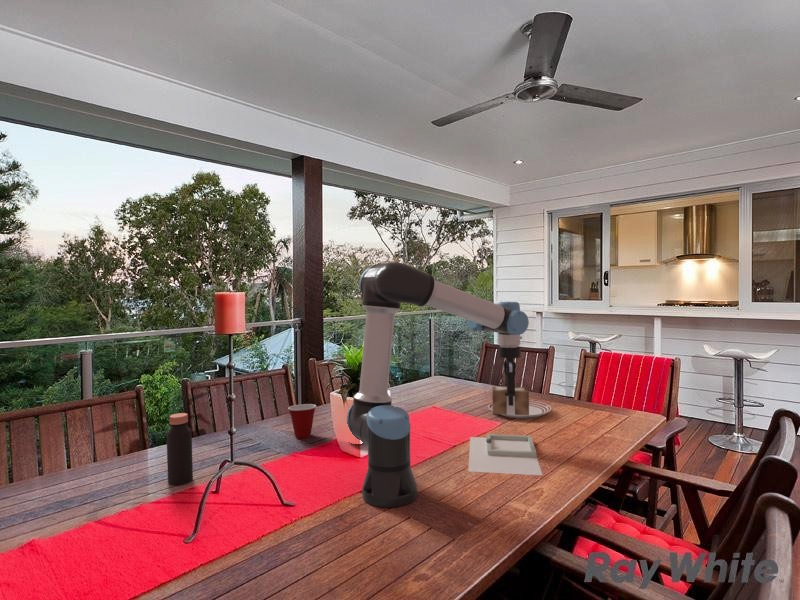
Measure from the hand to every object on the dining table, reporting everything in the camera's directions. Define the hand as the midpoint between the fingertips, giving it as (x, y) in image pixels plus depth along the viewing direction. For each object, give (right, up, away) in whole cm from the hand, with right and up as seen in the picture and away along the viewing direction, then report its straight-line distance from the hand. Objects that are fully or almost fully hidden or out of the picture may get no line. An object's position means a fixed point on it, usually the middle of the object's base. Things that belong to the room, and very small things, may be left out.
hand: (510, 411), depth 160 cm
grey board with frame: (-4, -13, -6) cm, 15 cm away
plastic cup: (-76, -14, +17) cm, 79 cm away
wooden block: (0, 0, 0) cm, 0 cm away
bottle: (-104, -16, -23) cm, 108 cm away
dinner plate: (+15, -12, +45) cm, 49 cm away
